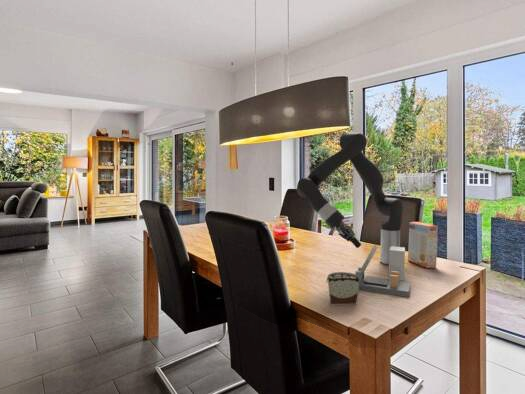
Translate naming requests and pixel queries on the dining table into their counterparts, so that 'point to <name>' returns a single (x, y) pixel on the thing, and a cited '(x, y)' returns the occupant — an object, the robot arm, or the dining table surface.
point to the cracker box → (423, 244)
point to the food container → (343, 288)
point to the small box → (397, 261)
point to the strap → (368, 259)
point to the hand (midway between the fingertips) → (359, 246)
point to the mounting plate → (384, 284)
